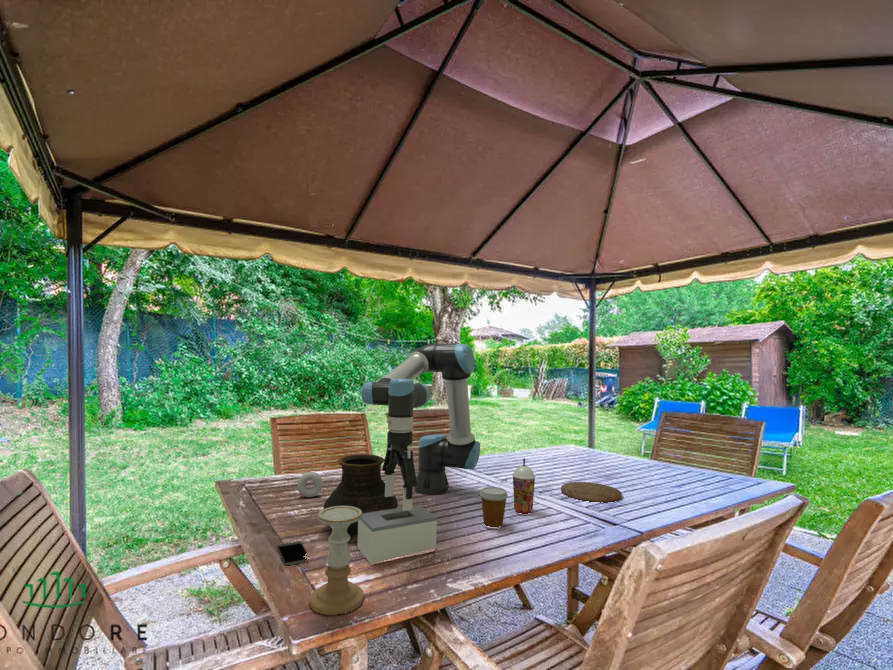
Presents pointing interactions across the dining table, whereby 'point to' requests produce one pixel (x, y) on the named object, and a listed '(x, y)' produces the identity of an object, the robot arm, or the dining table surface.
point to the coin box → (396, 533)
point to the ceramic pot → (361, 486)
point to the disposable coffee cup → (493, 505)
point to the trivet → (591, 492)
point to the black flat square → (292, 553)
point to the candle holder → (338, 565)
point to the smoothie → (523, 489)
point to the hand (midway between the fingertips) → (397, 502)
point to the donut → (305, 478)
